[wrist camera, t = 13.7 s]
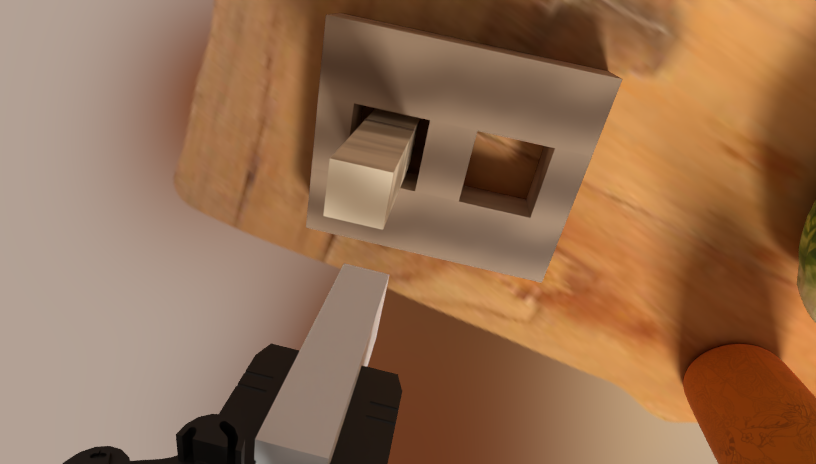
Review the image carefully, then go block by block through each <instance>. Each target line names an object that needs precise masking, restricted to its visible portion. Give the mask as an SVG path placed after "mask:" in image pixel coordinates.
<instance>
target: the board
mask: <svg viewBox="0 0 816 464" xmlns="http://www.w3.org/2000/svg"><path fill="white" fill-rule="evenodd" d="M621 82H622V79H621V78H619V77H618V76H616V75H614V74H612V73H611V72H609V71H605V70H600V69H596V68H591V67H586V66H582V65H577V64H573V63H568V62H564V61H559V60H554V59H550V58H545V57H541V56H536V55H531V54H527V53H522V52H518V51H513V50H508V49H504V48H499V47H495V46H490V45H485V44H481V43H476V42H472V41H467V40H462V39H458V38H453V37H449V36H444V35H439V34H435V33H430V32H426V31H421V30H416V29H412V28H407V27H403V26H398V25H394V24H389V23H384V22H380V21H375V20H371V19H366V18H361V17H357V16H352V15H348V14H343V13H335V14H327V15H326V19H325V30H324V41H323V51H322V62H321V73H320V84H319V94H318V105H317V116H316V126H315V137H314V148H313V159H312V169H311V180H310V191H309V202H308V212H307V223H306V228H310V229H314V230H319V231H323V232H327V233H332V234H336V235H340V236H344V237H349V238H353V239H357V240H362V241H366V242H370V243H374V244H379V245H383V246H387V247H391V248H396V249H400V250H404V251H409V252H413V253H417V254H421V255H426V256H430V257H434V258H438V259H443V260H447V261H451V262H456V263H460V264H464V265H468V266H473V267H477V268H481V269H486V270H490V271H494V272H498V273H503V274H507V275H511V276H515V277H520V278H524V279H528V280H533V281H537V282H541V283H542V281H543V278H544V276H545V273H546V271H547V268H548V266H549V263H550V261H551V258H552V256H553V253H554V251H555V248H556V246H557V243H558V240H559V238H560V235H561V233H562V230H563V228H564V225H565V223H566V220H567V218H568V215H569V213H570V210H571V208H572V205H573V203H574V200H575V198H576V195H577V193H578V190H579V187H580V185H581V182H582V180H583V177H584V175H585V172H586V170H587V167H588V165H589V162H590V160H591V157H592V155H593V152H594V150H595V147H596V145H597V142H598V140H599V137H600V135H601V132H602V129H603V127H604V124H605V122H606V119H607V117H608V114H609V112H610V109H611V107H612V104H613V102H614V99H615V97H616V94H617V92H618V89H619V87H620V84H621ZM363 105H364V106H369V107H373V108H378V109H382V110H386V111H391V112H395V113H400V114H404V115H409V116H413V117H418V118H422V119H427V120H430V124H429V128H428V133H427V138H426V142H425V147H424V152H423V156H422V161H421V166H420V171H419V175H416V174H412V173H407V172H406V176H405V178H404V179H403V182H402V184H401V187H400V189H399V192H398V194H397V197H396V199H395V202H394V204H393V206H392V209H391V211H390V214H389V216H388V219H387V221H386V224H385V226H384V229H383V230H382V229H377V228H373V227H369V226H364V225H360V224H356V223H352V222H347V221H343V220H339V219H334V218H330V217H326V216H323V214H324V205H325V196H326V188H327V179H328V170H329V161H330V158H331V156H332V155H333V154H334V153H335V152H336V151H337V150H338V149H339V148H340V147H341V146H342V144H343V143H344V142H345V141H346V140H347V139H348V138H349V137H350V136H351V135H352V134H353V132H354V131H355V130H356V129H357V128H358V127H359V126H360V124H361V117H362V110H363ZM477 131H480V132H485V133H489V134H494V135H498V136H503V137H507V138H511V139H516V140H520V141H525V142H529V143H534V144H538V145H543V146H544V149H543V151H542V154H541V157H540V160H539V163H538V166H537V169H536V172H535V175H534V178H533V181H532V184H531V187H530V190H529V193H528V195H527V198H526V199H521V198H517V197H513V196H508V195H504V194H499V193H495V192H491V191H486V190H482V189H478V188H473V187H469V186H464V185H463V183H464V180H465V176H466V172H467V168H468V164H469V161H470V157H471V153H472V149H473V146H474V142H475V138H476V134H477Z"/></svg>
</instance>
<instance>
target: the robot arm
mask: <svg viewBox="0 0 816 464" xmlns="http://www.w3.org/2000/svg"><path fill="white" fill-rule="evenodd" d="M388 278H389V274H385V273H381V272H377V271H373V270H369V269H365V268H361V267H356V266H352V265H348V264H343V266H342V268H341V270H340V272H339V274H338V276H337V278H336V280H335V282H334V284H333V286H332V288H331V290H330V292H329V294H328V296H327V298H326V300H325V302H324V304H323V306H322V308H321V310H320V312H319V314H318V316H317V318H316V320H315V322H314V324H313V326H312V328H311V330H310V332H309V334H308V336H307V338H306V340H305V342H304V343H303V346H302V348H301V349H300V351H298V350H294V349H291V348H287V347H283V346H279V345H274V344H270V345H269V346H267V347H266V348H264V349H263V350H262V351H260V352H259V353H258V354H256V355H255V357H254V358H253V360H252V362H251V363H250V365H249V366H248V368H247V370H246V372H245V374H243V376H242V378H241V379H240V381H239V383H238V386H236V387H235V389H234V391H233V392H232V394H231V395H230V397H229V399H228V400H227V402H226V403H225V405H224V407H223V408H222V410H221V412H220V413H219V414H210V415H206V416H201V417H198V418H196V419H194V420H193V421H191V422H189V423H187V424H186V425H185V426H184V427H183V428H182V429H181V430H180V431H179V432H178V433H177V434H176V440H177V451H178V455H177V456H174V457H171V458H165V459H156V460H140V461H130V460H129V457H128V456H127V455H126V454H125V453H124V452H123V451H122V450H121V449H118V448H114V447H111V446H104V447H94V448H91V449H88V450H85V451H82V452H80V453H78V454H76V455H75V456H73V457H72V458H70V459H68V460H67V461H65V462H64V463H63V464H387V463H388V458H389V454H390V449H391V443H392V439H393V433H394V429H395V424H396V419H397V414H398V409H399V404H400V399H401V394H402V389H401V385H400V382H399V378H398V374H394V373H390V372H385V371H382V370H377V369H374V368H370V367H367V365H368V362H369V359H370V356H371V352H372V349H373V346H374V343H375V339H376V336H377V331H378V326H379V321H380V317H381V312H382V307H383V302H384V297H385V293H386V288H387V283H388Z"/></svg>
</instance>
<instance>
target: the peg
mask: <svg viewBox="0 0 816 464" xmlns="http://www.w3.org/2000/svg"><path fill="white" fill-rule="evenodd" d="M418 123H419V119H417V118H413V117H409V116H404V115H400V114H395V113H391V112H386V111H382V110H377V109H375V110H374V111H373V112H372V113H371V114H370V115H369V116H368V117H367V118H365V119H364V122H363V123H362V124H361V125H360V126H359V127H358V128H357V129H356V130H355V131H354V132H353V134H352V135H351V136H350V137H349V138H348V139H347V140H346V141H345V142H344V143H343V144H342V146H341V147H340V148H339V149H338V150H337V151H336V152H335V153H334V154H333V155H332V156H331V158H330V161H329V170H328V179H327V188H326V196H325V205H324V214H323V216H326V217H330V218H334V219H339V220H343V221H347V222H352V223H356V224H360V225H364V226H369V227H373V228H377V229H382V230H383V229H384V226H385V224H386V221H387V219H388V216H389V214H390V211H391V209H392V206H393V204H394V202H395V199H396V197H397V194H398V192H399V189H400V187H401V184H402V182H403V179H404V178H405V176H406V172H407V170H408V167H409V165H410V162H411V158H412V153H413V148H414V143H415V138H416V133H417V128H418Z"/></svg>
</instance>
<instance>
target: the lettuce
mask: <svg viewBox="0 0 816 464" xmlns="http://www.w3.org/2000/svg"><path fill="white" fill-rule="evenodd" d="M797 286H798V290H799V294H800V296H801V299H802V301H803V304H804V306H805V308H806V310H807V312H808V313H809V315H810V316H811V318H812V319H813V320H814V321H815V322H816V200H815V202H814V204H813V206H812V208H811V210H810V212H809V213H808V215H807V218H806V221H805V225H804V228H803V231H802V234H801V239H800V244H799V267H798V277H797Z"/></svg>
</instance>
